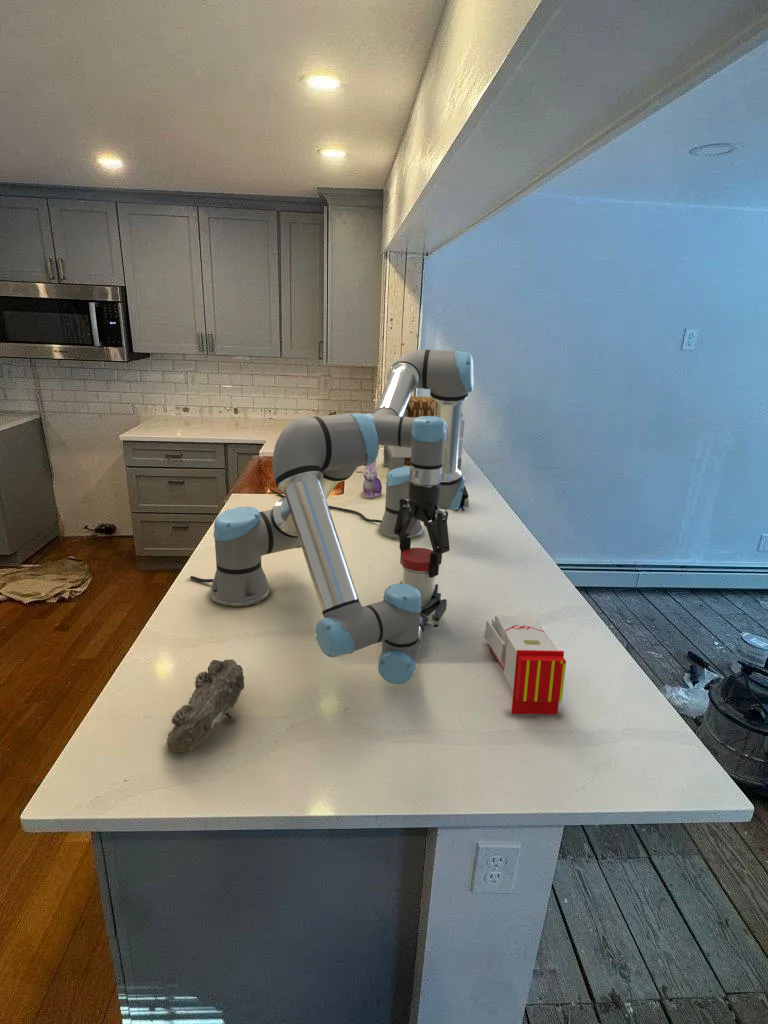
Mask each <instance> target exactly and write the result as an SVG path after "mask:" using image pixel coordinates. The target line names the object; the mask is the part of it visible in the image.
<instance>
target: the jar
mask: <svg viewBox="0 0 768 1024" xmlns="http://www.w3.org/2000/svg"><path fill="white" fill-rule="evenodd" d="M401 566H402V565H401ZM401 570H402V571H401V580H402V583H401V584H408V585H411V586H413V587H414V588H416V589H418V590H419V592H420V594H421V606H425V605H426V604H427V603H429V602H430V601H431V600H432V598H433V592H434V588H435V581H436V580H435V578H436V576H434V577H432V578H430V577H429V571H413V570H409V569H407V568H405V567H403V566H402V569H401ZM432 614H433V612H432V613H431V614H430V615H429V616H427V617H428V618H430V617H431V616H432Z"/></svg>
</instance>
